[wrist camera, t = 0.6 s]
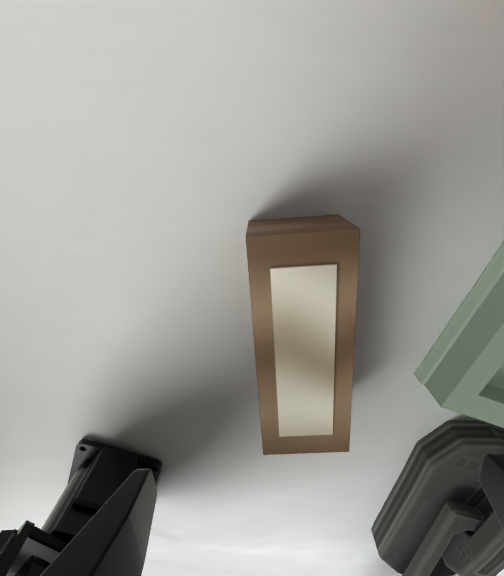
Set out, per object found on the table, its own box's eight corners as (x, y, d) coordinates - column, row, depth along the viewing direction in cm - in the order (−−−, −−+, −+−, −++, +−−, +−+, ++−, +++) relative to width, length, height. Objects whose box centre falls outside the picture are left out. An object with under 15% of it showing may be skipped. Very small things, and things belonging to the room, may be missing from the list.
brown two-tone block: (332, 398, 23) (349, 453, 19) (262, 401, 23) (263, 456, 19) (336, 214, 18) (361, 230, 14) (248, 220, 18) (245, 237, 14)
